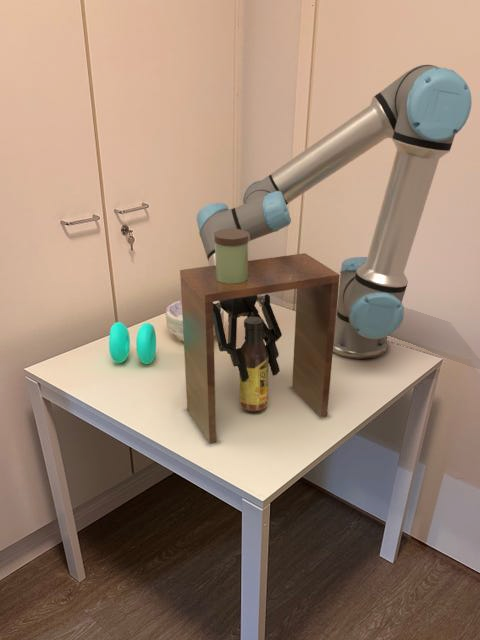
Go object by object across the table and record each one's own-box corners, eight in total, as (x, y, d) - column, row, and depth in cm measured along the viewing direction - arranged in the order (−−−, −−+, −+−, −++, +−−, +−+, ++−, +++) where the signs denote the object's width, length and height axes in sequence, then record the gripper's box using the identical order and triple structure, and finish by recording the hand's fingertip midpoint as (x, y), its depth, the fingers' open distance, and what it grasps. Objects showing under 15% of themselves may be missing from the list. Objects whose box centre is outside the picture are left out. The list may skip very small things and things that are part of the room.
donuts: (151, 371, 153) (147, 333, 148) (110, 370, 154) (105, 332, 148) (158, 353, 162) (155, 316, 156) (119, 351, 162) (115, 315, 157)
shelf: (297, 386, 147) (305, 253, 130) (327, 416, 136) (339, 274, 119) (187, 410, 138) (179, 270, 121) (209, 443, 127) (204, 294, 110)
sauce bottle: (265, 414, 135) (266, 328, 124) (236, 411, 136) (235, 326, 125) (270, 398, 140) (271, 315, 129) (242, 396, 141) (241, 313, 130)
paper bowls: (209, 353, 162) (208, 324, 157) (157, 342, 167) (154, 314, 162) (232, 330, 173) (232, 302, 169) (183, 321, 178) (182, 294, 174)
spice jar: (248, 272, 120) (248, 228, 116) (250, 284, 115) (250, 238, 110) (214, 272, 120) (213, 229, 115) (214, 284, 114) (213, 239, 110)
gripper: (266, 276, 141) (296, 373, 137) (184, 289, 135) (213, 391, 131) (277, 260, 134) (309, 362, 130) (191, 273, 128) (222, 379, 124)
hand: (261, 376), depth 131 cm, fingers closed on sauce bottle, 6 cm apart
